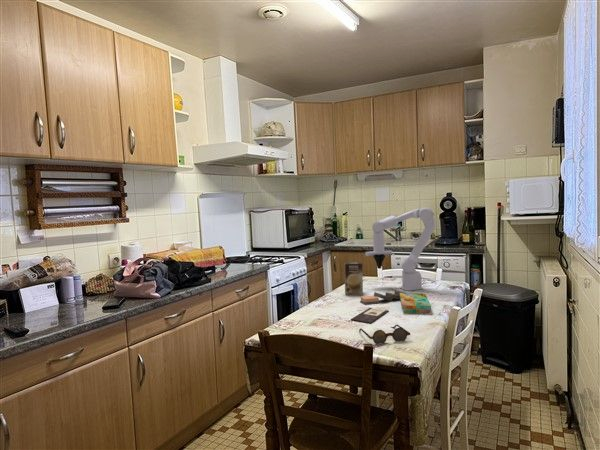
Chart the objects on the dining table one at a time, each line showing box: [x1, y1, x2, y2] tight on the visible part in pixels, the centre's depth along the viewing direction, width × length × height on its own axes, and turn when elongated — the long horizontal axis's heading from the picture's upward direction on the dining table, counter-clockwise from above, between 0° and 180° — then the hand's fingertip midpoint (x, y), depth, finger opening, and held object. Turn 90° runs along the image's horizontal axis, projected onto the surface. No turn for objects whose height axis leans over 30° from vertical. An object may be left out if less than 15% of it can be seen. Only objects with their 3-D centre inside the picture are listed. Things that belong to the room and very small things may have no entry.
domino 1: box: [360, 294, 380, 303], centre depth 184 cm, size 2×5×7 cm
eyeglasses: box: [358, 324, 411, 345], centre depth 142 cm, size 15×15×5 cm
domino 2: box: [359, 299, 379, 306], centre depth 184 cm, size 2×5×7 cm
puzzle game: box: [399, 292, 432, 314], centre depth 174 cm, size 12×5×20 cm
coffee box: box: [344, 261, 364, 296], centre depth 201 cm, size 9×6×16 cm
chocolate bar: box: [350, 307, 390, 325], centre depth 164 cm, size 9×1×18 cm
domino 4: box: [384, 292, 400, 300], centre depth 187 cm, size 2×5×7 cm
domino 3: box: [373, 291, 393, 302], centre depth 185 cm, size 2×5×7 cm
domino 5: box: [393, 290, 406, 296], centre depth 189 cm, size 2×5×7 cm
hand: (379, 268), depth 211 cm, fingers closed
